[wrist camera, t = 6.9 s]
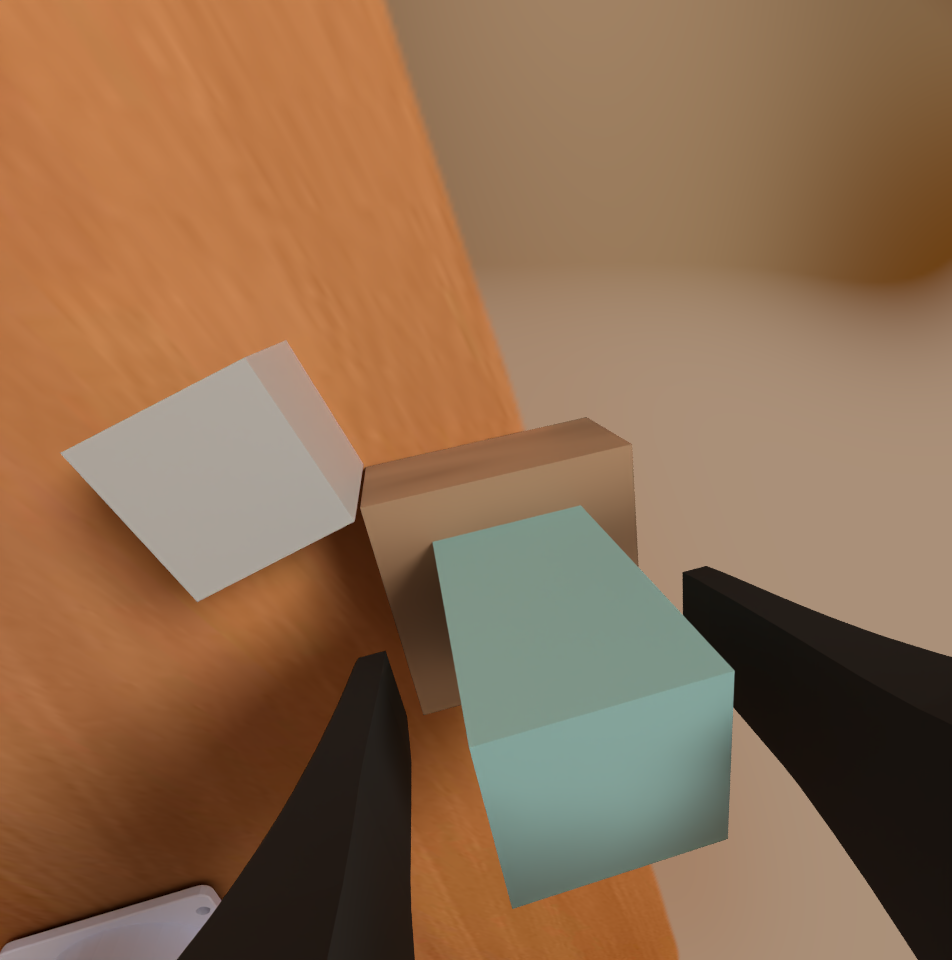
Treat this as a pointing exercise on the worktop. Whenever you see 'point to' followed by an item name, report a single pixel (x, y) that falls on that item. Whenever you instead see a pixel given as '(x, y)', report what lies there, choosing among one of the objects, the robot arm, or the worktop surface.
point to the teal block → (583, 704)
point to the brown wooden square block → (483, 520)
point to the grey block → (228, 471)
